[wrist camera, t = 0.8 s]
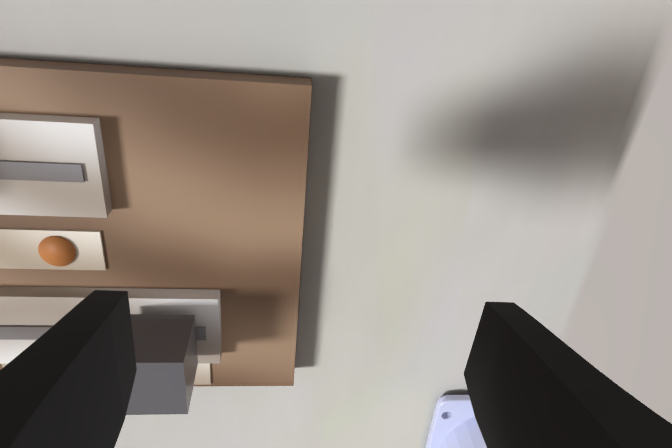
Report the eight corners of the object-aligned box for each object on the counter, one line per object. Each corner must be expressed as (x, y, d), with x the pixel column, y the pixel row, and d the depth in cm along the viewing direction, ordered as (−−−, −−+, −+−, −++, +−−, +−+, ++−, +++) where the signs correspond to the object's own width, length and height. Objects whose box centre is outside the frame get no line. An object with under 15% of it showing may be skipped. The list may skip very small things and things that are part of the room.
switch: (197, 363, 20) (187, 413, 18) (133, 363, 19) (115, 414, 17) (194, 314, 19) (183, 362, 16) (126, 314, 18) (105, 362, 16)
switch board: (293, 368, 23) (293, 398, 22) (-148, 369, 21) (-181, 402, 19) (310, 77, 17) (312, 91, 15) (-318, 37, 15) (-386, 48, 13)
